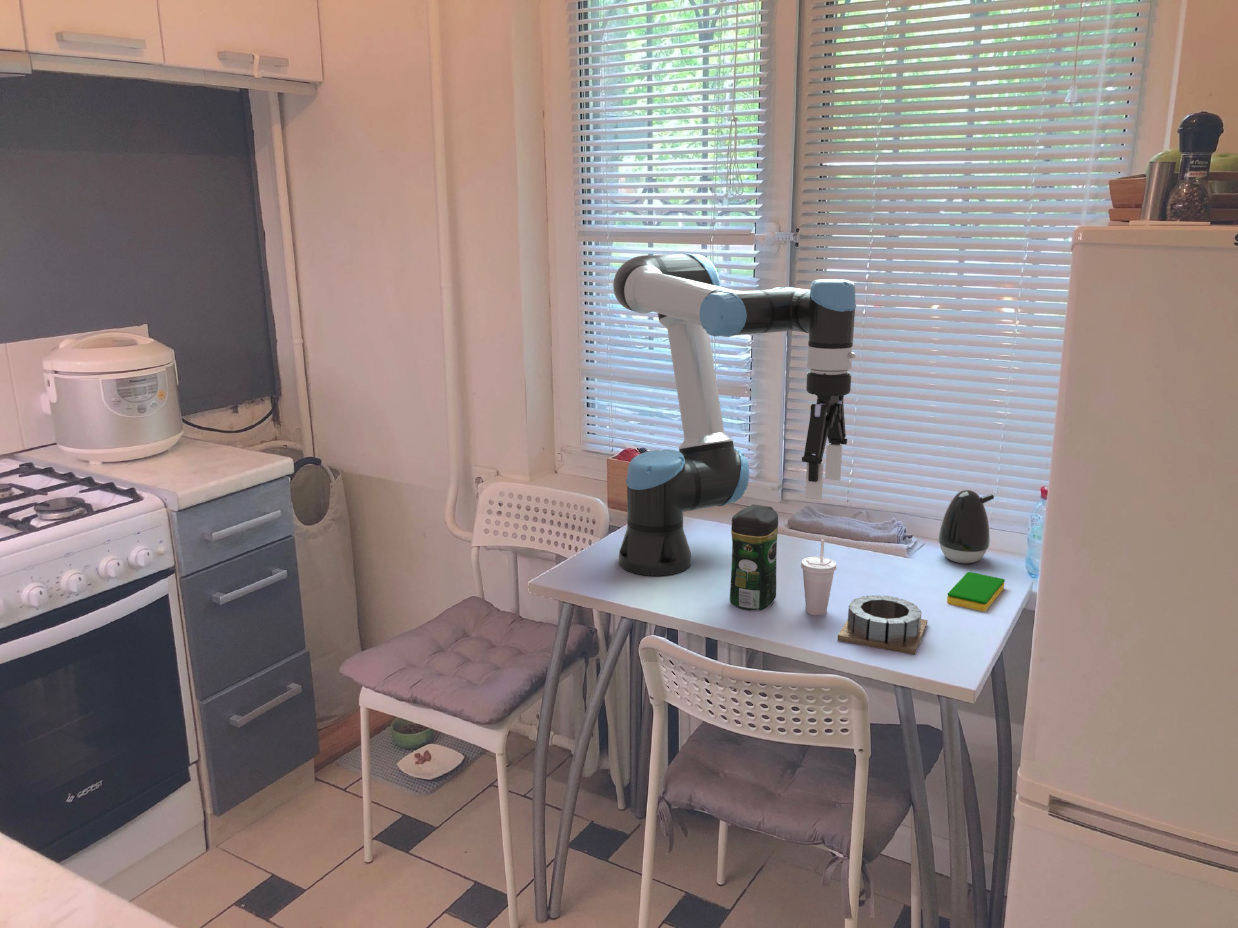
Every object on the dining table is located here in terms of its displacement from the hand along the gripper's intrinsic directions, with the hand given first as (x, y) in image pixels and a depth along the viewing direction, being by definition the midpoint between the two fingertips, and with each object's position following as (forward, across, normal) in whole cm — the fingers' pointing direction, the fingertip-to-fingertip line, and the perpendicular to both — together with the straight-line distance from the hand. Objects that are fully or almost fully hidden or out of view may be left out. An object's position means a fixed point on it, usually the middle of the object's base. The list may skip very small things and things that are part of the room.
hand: (823, 488), depth 172 cm
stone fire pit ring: (+24, -4, -13) cm, 27 cm away
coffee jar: (+24, -1, +12) cm, 27 cm away
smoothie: (+24, 0, 0) cm, 24 cm away
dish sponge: (+24, +21, -26) cm, 41 cm away
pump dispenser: (+24, +40, -21) cm, 51 cm away
